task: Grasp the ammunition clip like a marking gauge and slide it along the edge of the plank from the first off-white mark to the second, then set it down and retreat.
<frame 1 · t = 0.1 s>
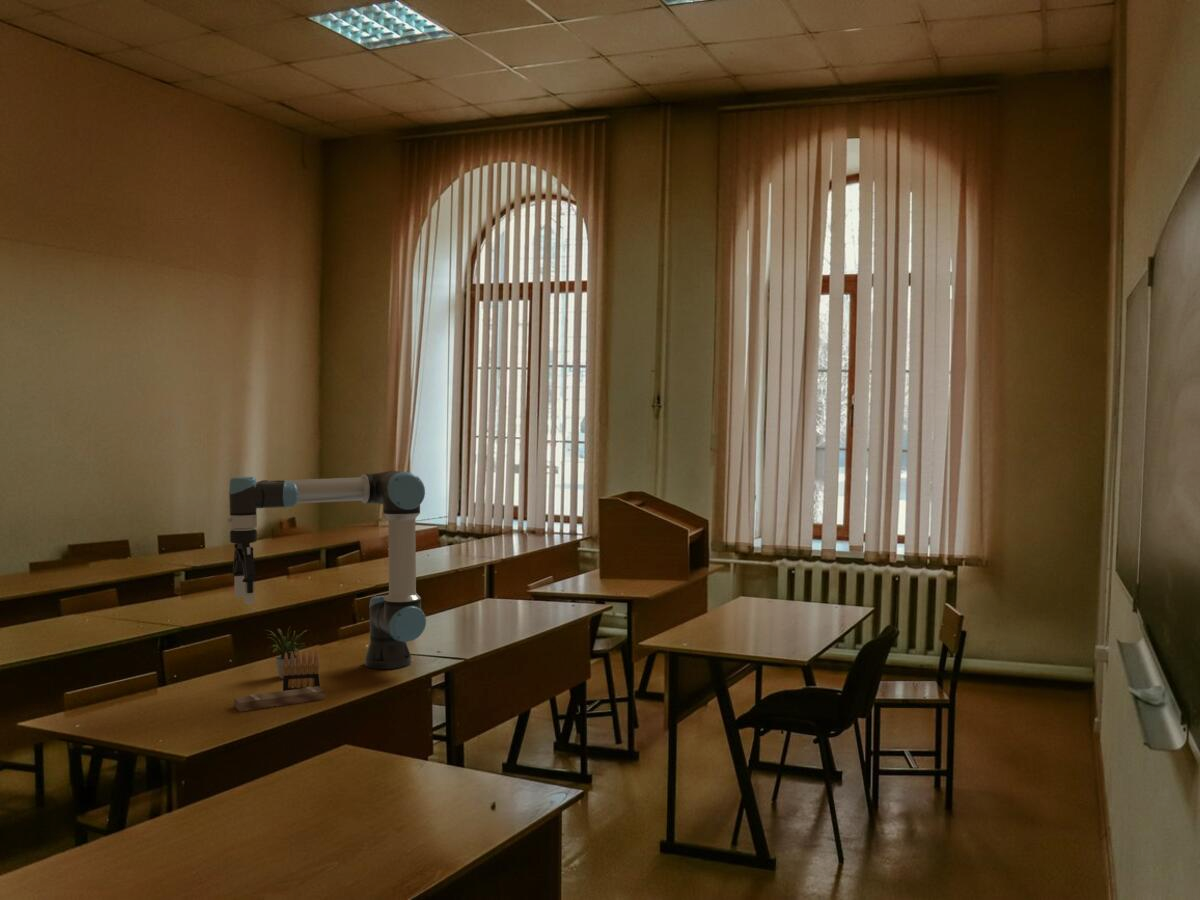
hand: (244, 600, 304), 28 cm above the table, fingers open, 13 cm apart
ammunition clip: (301, 691, 308), on the table
house plant: (283, 677, 325), on the table
plank: (280, 702, 295), on the table
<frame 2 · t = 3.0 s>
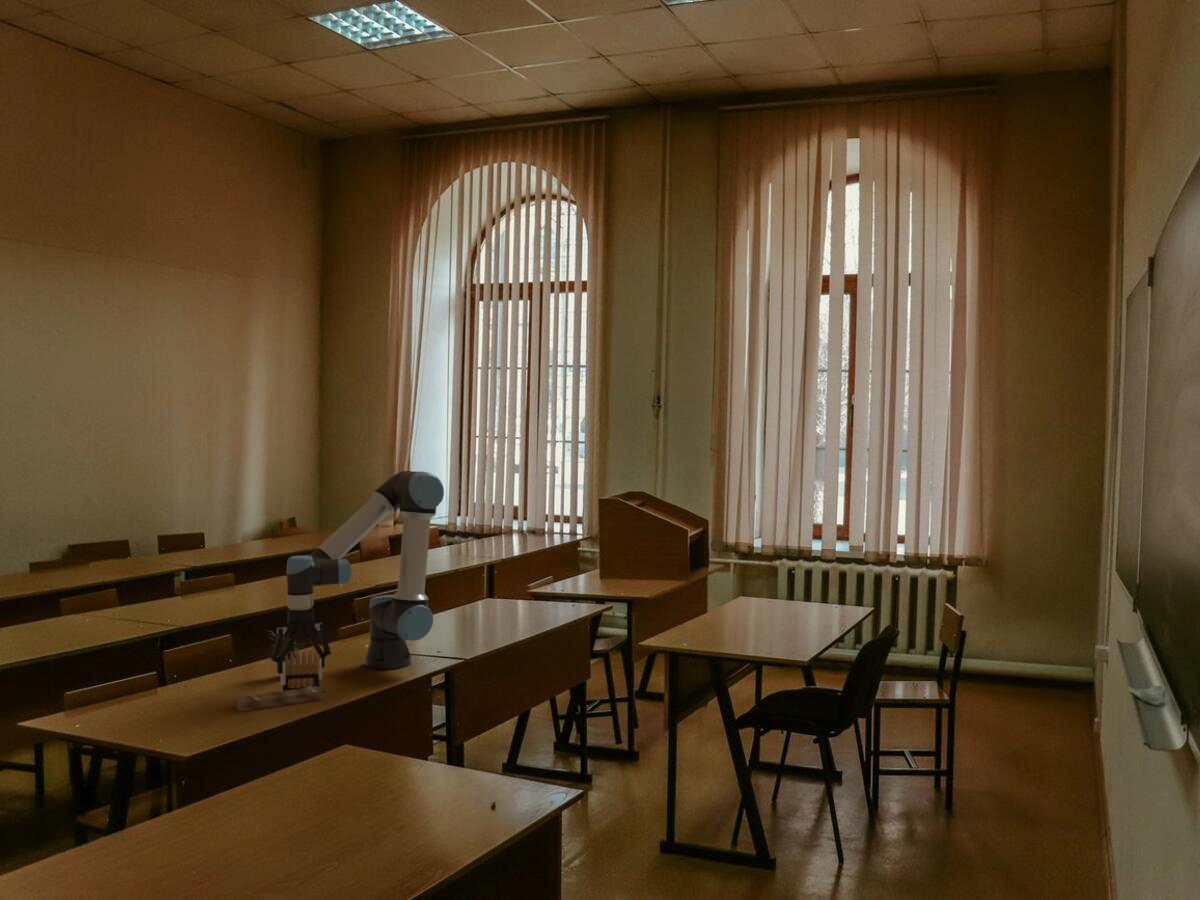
hand: (301, 681, 308), 3 cm above the table, fingers closed on ammunition clip, 10 cm apart
ammunition clip: (301, 691, 308), on the table, touching gripper
everything else where it was.
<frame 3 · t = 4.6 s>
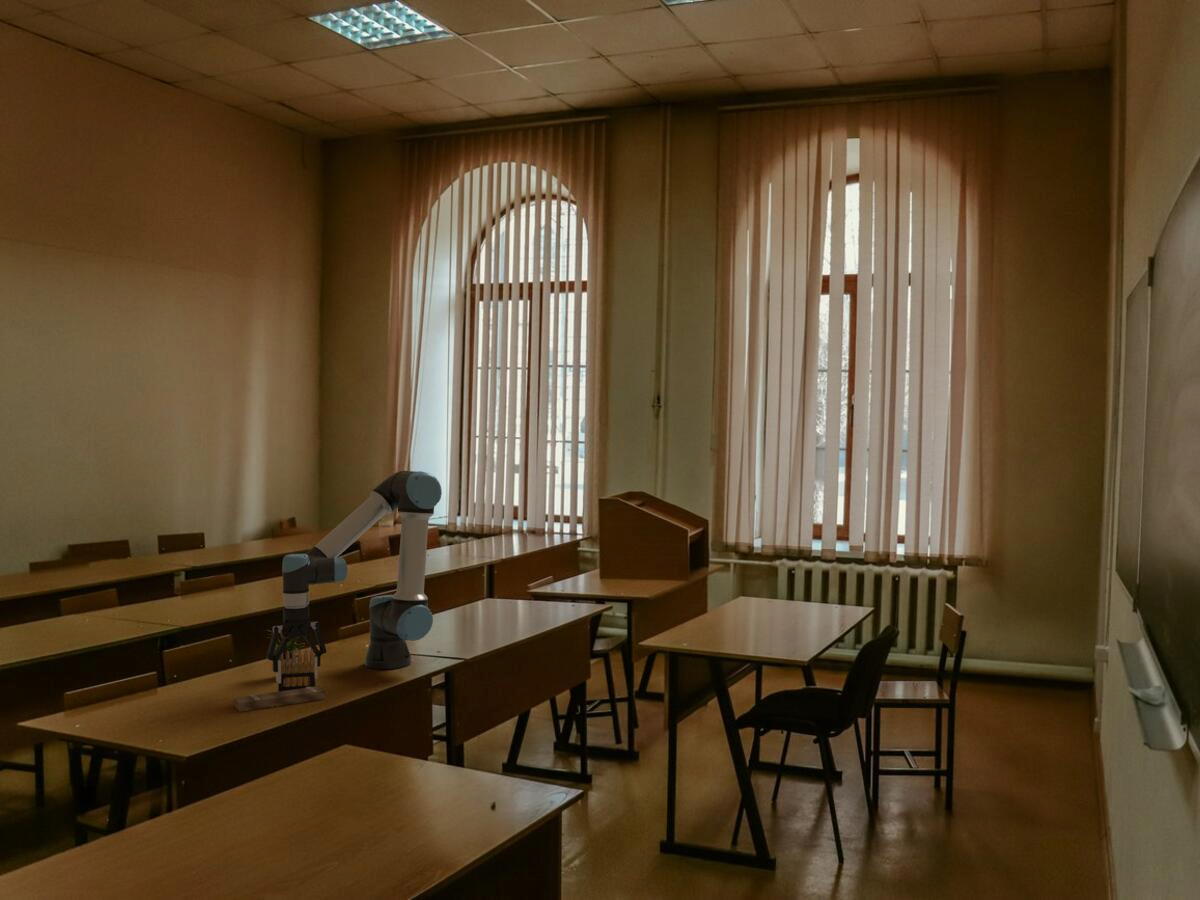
hand: (297, 680, 307), 3 cm above the table, fingers closed on ammunition clip, 10 cm apart
ammunition clip: (297, 690, 307), on the table, touching gripper
everything else where it was.
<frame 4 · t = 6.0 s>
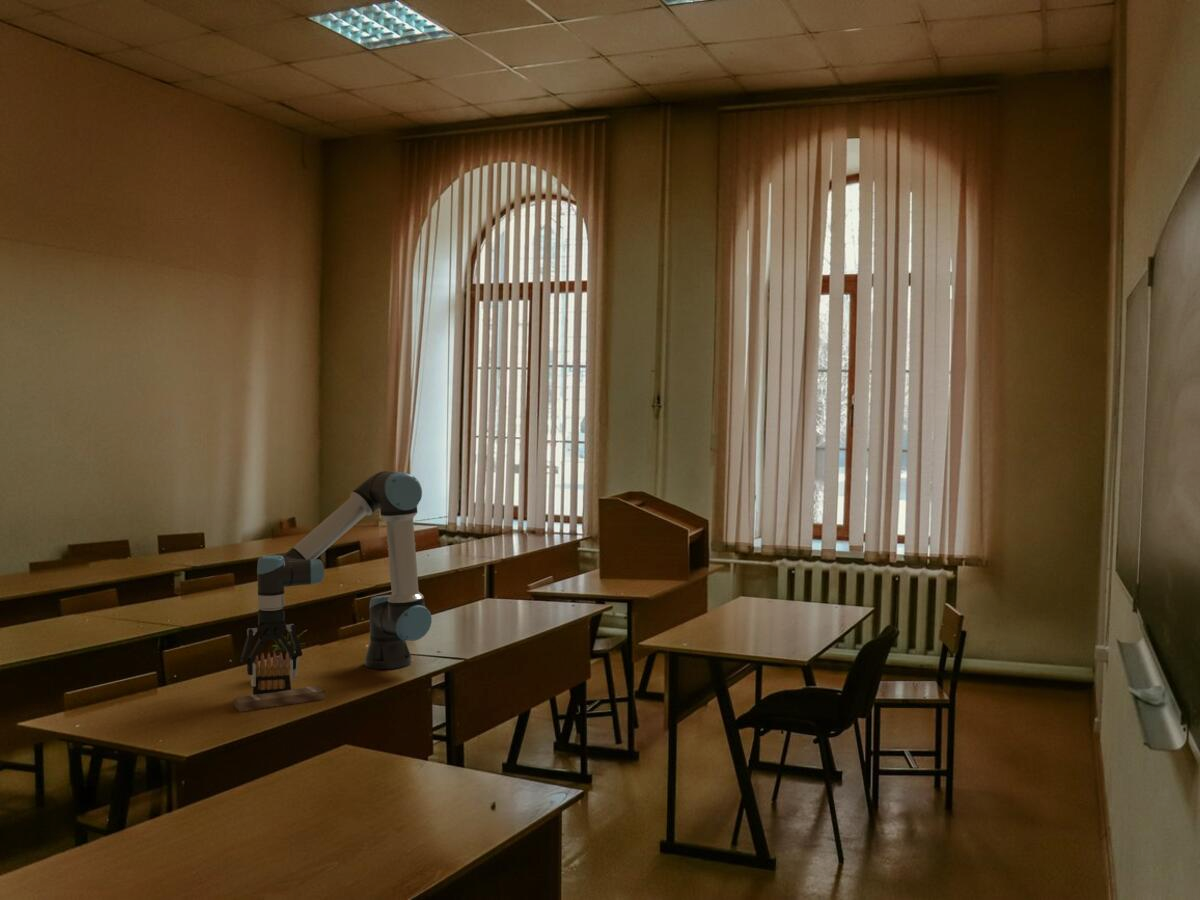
hand: (272, 683, 303), 4 cm above the table, fingers closed on ammunition clip, 10 cm apart
ammunition clip: (272, 693, 303), on the table, touching gripper
everything else where it was.
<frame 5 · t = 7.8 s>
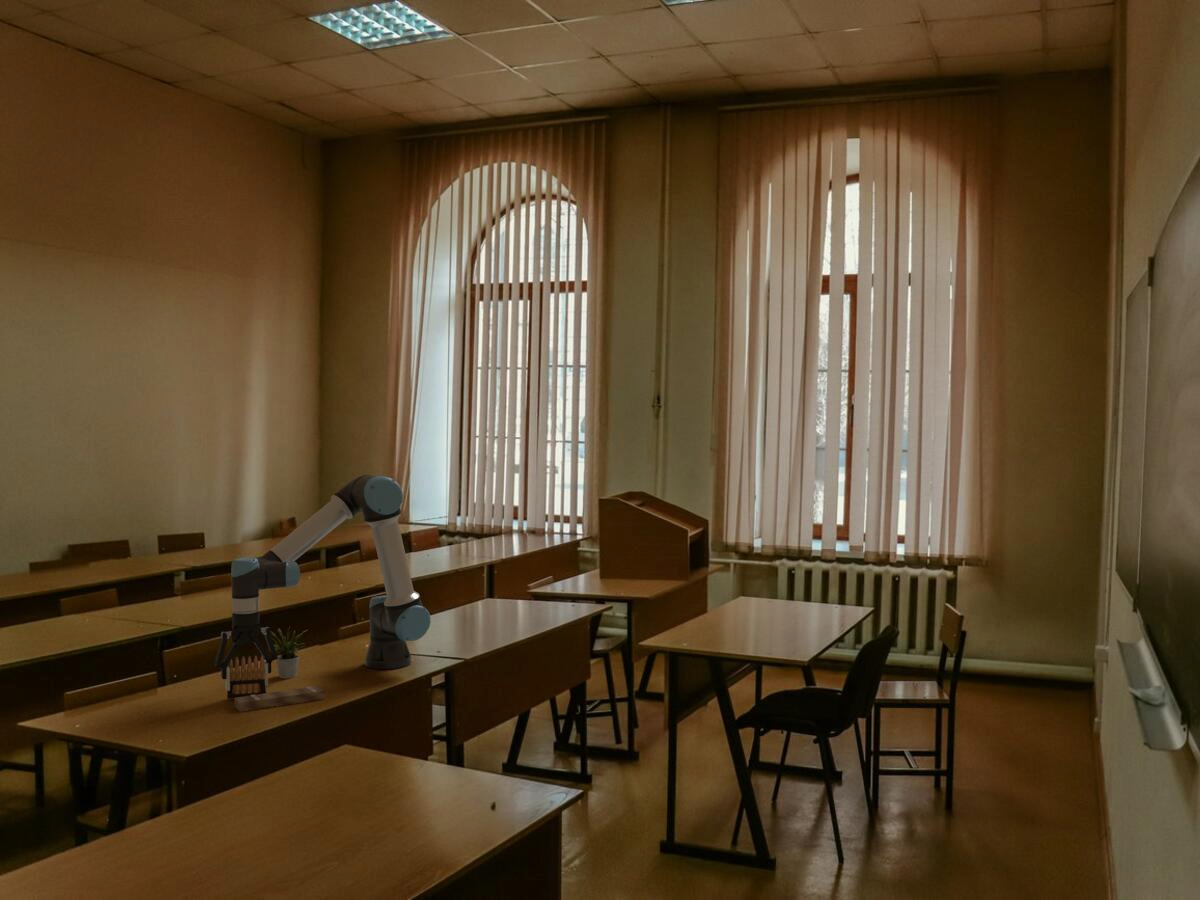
hand: (246, 687, 300), 3 cm above the table, fingers closed on ammunition clip, 10 cm apart
ammunition clip: (246, 697, 300), on the table, touching gripper
everything else where it was.
when the fingers open (3 cm above the table, at t = 9.1 s): ammunition clip stays where it is, on the table.
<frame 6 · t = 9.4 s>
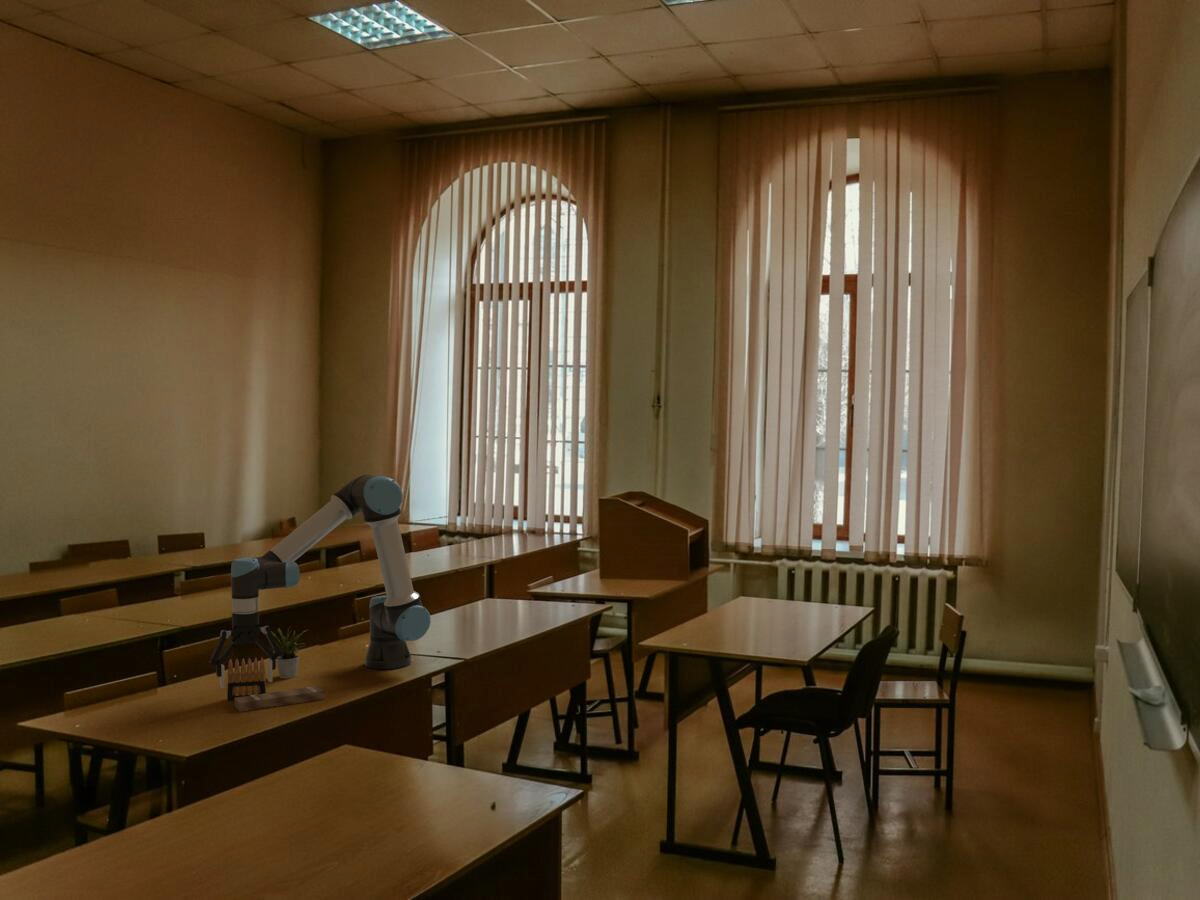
hand: (246, 684, 300), 4 cm above the table, fingers open, 13 cm apart
ammunition clip: (246, 699, 300), on the table
everything else where it was.
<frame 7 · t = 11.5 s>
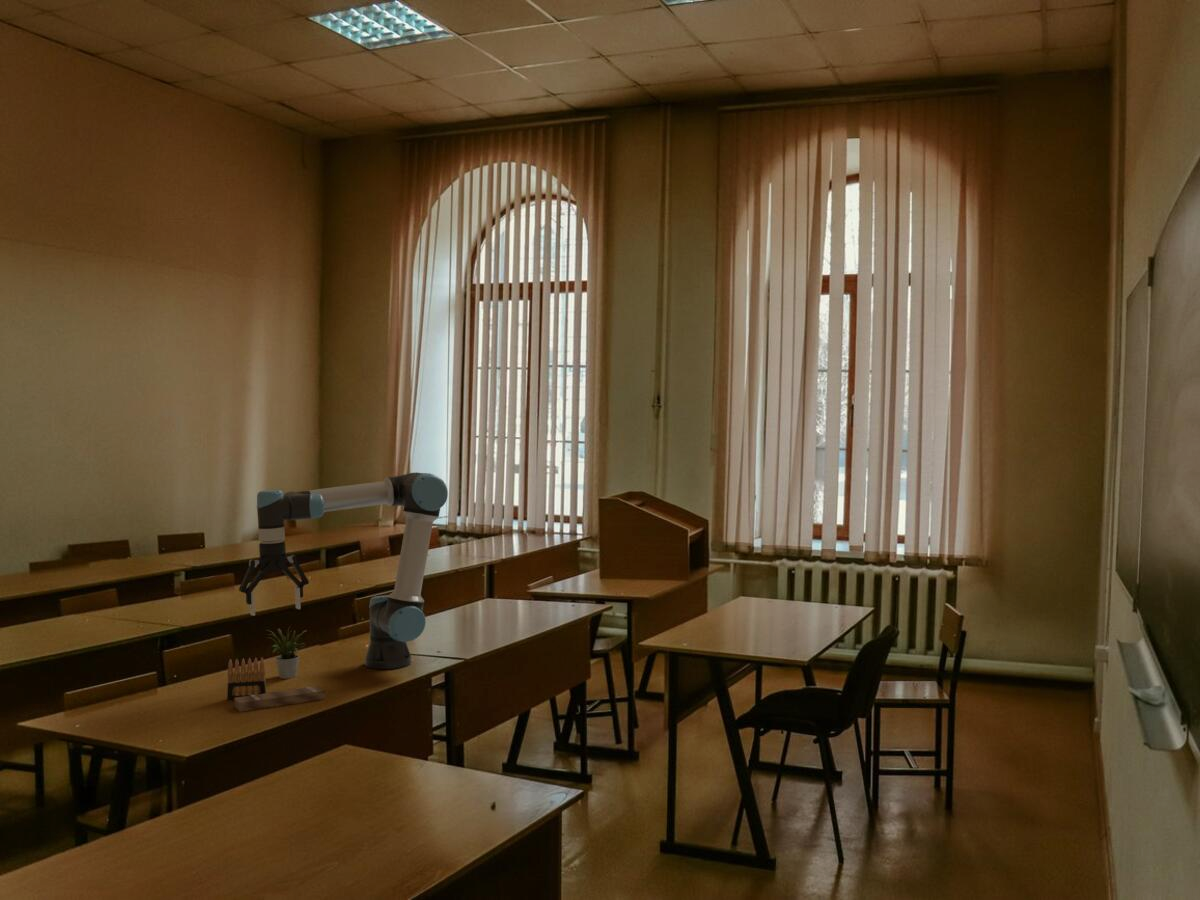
hand: (275, 611, 309), 24 cm above the table, fingers open, 13 cm apart
nothing on the table moved.
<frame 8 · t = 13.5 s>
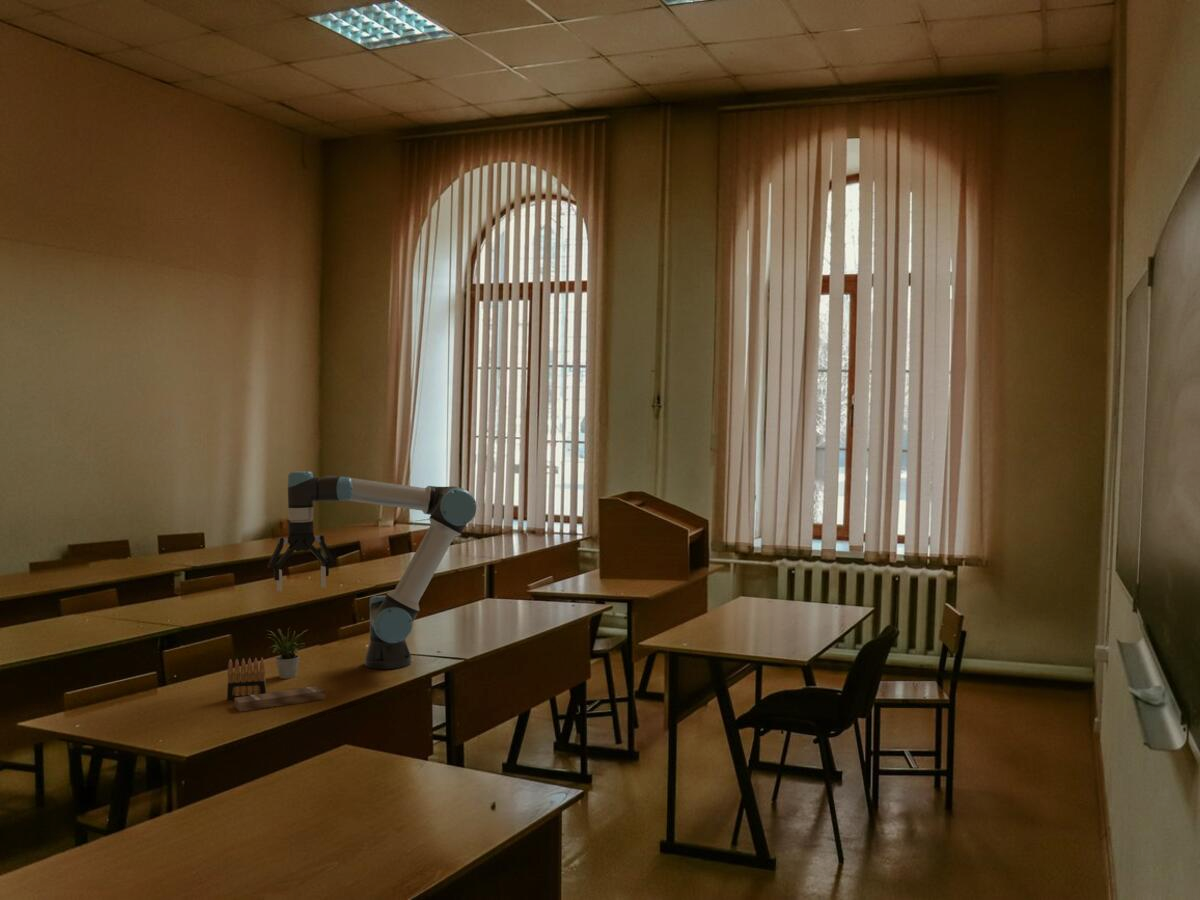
hand: (301, 588, 320), 29 cm above the table, fingers open, 13 cm apart
nothing on the table moved.
at the end: ammunition clip inside the target area (1.1 cm from its centre), on the table; the gripper is holding nothing; ammunition clip moved 16.0 cm from its start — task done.
